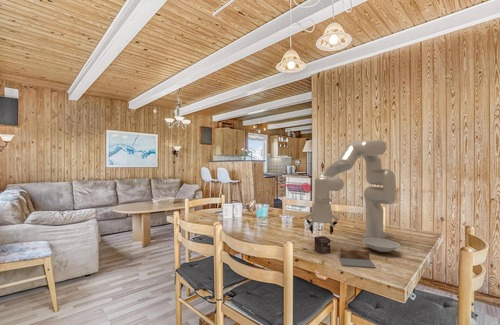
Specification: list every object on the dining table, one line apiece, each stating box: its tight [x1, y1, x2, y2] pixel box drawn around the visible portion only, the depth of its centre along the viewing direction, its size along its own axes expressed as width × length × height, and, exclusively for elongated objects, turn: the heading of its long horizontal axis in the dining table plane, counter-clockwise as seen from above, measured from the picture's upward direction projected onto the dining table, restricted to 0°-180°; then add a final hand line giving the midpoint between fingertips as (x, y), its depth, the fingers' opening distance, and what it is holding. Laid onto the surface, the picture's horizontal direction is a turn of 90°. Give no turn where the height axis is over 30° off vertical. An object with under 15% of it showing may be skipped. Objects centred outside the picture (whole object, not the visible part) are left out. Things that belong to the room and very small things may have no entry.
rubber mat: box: [337, 253, 377, 269], centre depth 120 cm, size 14×14×1 cm
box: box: [314, 235, 331, 255], centre depth 133 cm, size 6×6×7 cm
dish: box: [362, 238, 401, 253], centre depth 132 cm, size 18×14×5 cm
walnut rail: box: [339, 248, 370, 260], centre depth 122 cm, size 13×2×4 cm, turn 79°
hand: (321, 233), depth 132 cm, fingers open, 9 cm apart
